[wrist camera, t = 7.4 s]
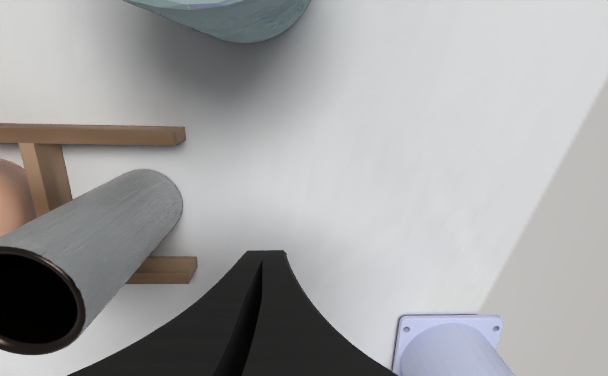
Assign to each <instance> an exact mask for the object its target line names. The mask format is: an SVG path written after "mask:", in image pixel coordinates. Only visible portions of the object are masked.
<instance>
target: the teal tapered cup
mask: <svg viewBox="0 0 608 376" xmlns="http://www.w3.org/2000/svg"><path fill="white" fill-rule="evenodd" d="M123 1H126V2H128V3H131V4H133V5H136V6H138V7H141V8H144V9H147V10H149V11H152V12H154V13H157V14H159V15H161V16H163V17H165V18H167V19H170V20H172V21H174V22H177V23H180V24H182V25H184V26H188V27H191V28H193V29H195V30H197V31H200V32H203V33H207V34H209V35H211V36H213V37H216V38H218V39H221V40H224V41H229V42H233V43H256V42H261V41H265V40H268V39H270V38H273V37H275V36H277V35H279V34H281V33H282V32H284V31H285V30H286V29H288V28H289V27H290V26H291V25H292V24H293V23H294V22H295V21H296V20H297V19H298V18H299V17H300V16H301V15H302V13H303V12H304V11H305V9H306V7H307V6H308V4H309V2H310V1H311V0H123Z"/></svg>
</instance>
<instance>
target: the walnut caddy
mask: <svg viewBox="0 0 608 376" xmlns="http://www.w3.org/2000/svg"><path fill="white" fill-rule="evenodd" d="M184 140H186V138H185V127H166V126H115V125H63V124H12V123H0V143H18V144H19V148H20V152H21V156H22V160H23V164H24V168H25V171H26V175H27V179H28V183H29V187H30V191H31V195H32V199H33V203H34V207H35V211H36V215H37V218H38V217H40V216H42V215H44V214H46V213H48V212H50V211H52V210H54V209H56V208H58V207H60V206H62V205H64V204H66V203H68V202H70V201H71V200H72V196H71V191H70V187H69V182H68V177H67V173H66V168H65V163H64V159H63V154H62V149H61V145H60V144H105V145H165V146H175V145H177V144H178V143H180V142H182V141H184ZM196 268H197V259H196V257H147V258H146V260H145V261H144V262H143V263H142V264H141V265H140V266H139V268H138V269H137V270H136V271H135V272H134V273H133V275H132V276H131V277H130V278H129V279H128V280H127V282H126V283H125V284H189V282H190V280H191V278H192V276H193V274H194V272H195V270H196Z"/></svg>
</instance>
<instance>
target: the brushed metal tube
mask: <svg viewBox="0 0 608 376" xmlns="http://www.w3.org/2000/svg"><path fill="white" fill-rule="evenodd" d="M181 213H182V198H181V195H180V193H179V191H178V189H177V187H176V186H175V185H174V183H173V182H172V181H171V180H170V179H168V178H167V177H166V176H164V175H162V174H161V173H158V172H156V171H152V170H147V169H138V170H133V171H130V172H127V173H125V174H123V175H121V176H119V177H117V178H115V179H113V180H111V181H109V182H107V183H105V184H103V185H101V186H99V187H97V188H95V189H93V190H91V191H89V192H87V193H85V194H83V195H81V196H79V197H77V198H75V199H73V200H71V201H70V202H68V203H66V204H64V205H62V206H60V207H58V208H56V209H54V210H52V211H50V212H48V213H46V214H44V215H42V216H40V217H38V218H36V219H34V220H32V221H30V222H28V223H26V224H24V225H22V226H20V227H18V228H16V229H14V230H12V231H11V232H9V233H7V234H5V235H3V236H1V237H0V349H1V350H4V351H7V352H11V353H16V354H22V355H42V354H48V353H52V352H56V351H58V350H61V349H63V348H65V347H67V346H69V345H70V344H71V343H73V342H74V341H75V340H76V339H77V338H78V337H79V336H80V335H81V334H82V333H83V331H84V330H85V329H86V328H87V327H88V326H89V325H90V323H91V322H92V321H93V320H94V319H95V318H96V316H97V315H98V314H99V313H100V312H101V311H102V309H103V308H104V307H105V306H106V305H107V304H108V302H109V301H110V300H111V299H112V298H113V297H114V296H115V294H116V293H117V292H118V291H119V290H120V289H121V287H122V286H123V285H124V284H125V283H126V282H127V280H128V279H129V278H130V277H131V276H132V275H133V273H134V272H135V271H136V270H137V269H138V268H139V266H140V265H141V264H142V263H143V262H144V261H145V260H146V258H147V257H148V256H149V255H150V254H151V253H152V251H153V250H154V249H155V248H156V247H157V246H158V244H159V243H160V242H161V241H162V240H163V239H164V237H165V236H166V235H167V234H168V233H169V232H170V230H171V229H172V228H173V227H174V226H175V224H176V223H177V221H178V220H179V218H180V216H181Z"/></svg>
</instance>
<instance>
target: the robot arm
mask: <svg viewBox="0 0 608 376" xmlns="http://www.w3.org/2000/svg"><path fill="white" fill-rule="evenodd" d="M502 326H503V319H502V318H501V317H500V316H498V315H427V316H403V317H402V318H401V319H400V321H399V328H398V335H397V342H396V349H395V356H394V363H393V370H392V371H390V370H389V369H387V368H386V367H384V366H382V365H381V364H379V363H378V362H376V361H374V360H373V359H371V358H370V357H368V356H367V355H366V354H364V353H363V352H362V351H360V350H359V349H358V348H356V347H355V346H354V345H352V344H351V343H350V342H349V341H348V340H347V339H346V338H344V337H343V336H342V335H341V334H340V333H339V332H338V331H337V330H336V329H334V328H333V327H332V325H331V324H330V323H329V322H328V321H327V320H326V319H325V318H324V317H323V316H322V315H321V313H320V312H319V311H318V310H317V309H316V307H315V306H314V305H313V304H312V302H311V301H310V300H309V298H308V297H307V295H306V294H305V292H304V291H303V289H302V288H301V286H300V284H299V283H298V281H297V279H296V277H295V275H294V274H293V271H292V269H291V267H290V265H289V262H288V259H287V253H286V252H284V251H283V250H269V251H247V252H246V253H245V254H244V255H243V256H242V257H241V258H240V259H239V260H238V262H237V263H236V264H235V265H234V266H233V267H232V268H231V269H230V270H229V271H228V272H227V273H226V274H225V276H224V277H223V278H222V279H221V280H220V281H219V282H218V283H217V284H216V285H215V286H214V287H212V288H211V289H210V290H209V291H208V292H207V293H206V294H205V295H204V296H203V297H201V298H200V299H199V300H198V301H197V302H195V303H194V304H193V305H192V306H190V307H189V308H188V309H186V310H185V311H184V312H182V313H181V314H180V315H178V316H177V317H175V318H174V319H172V320H171V321H169V322H168V323H166V324H165V325H163V326H161V327H160V328H158V329H157V330H155V331H154V332H152V333H150V334H149V335H147V336H146V337H144V338H142V339H140V340H139V341H137V342H135V343H133V344H131V345H130V346H128V347H126V348H124V349H122V350H120V351H118V352H116V353H114V354H113V355H111V356H109V357H107V358H105V359H103V360H101V361H98V362H96V363H94V364H92V365H90V366H88V367H85V368H83V369H81V370H79V371H76V372H74V373H72V374H70V375H67V376H515V375H514V373H513V372H512V371H511V370H510V368H509V367H508V366H507V364H506V363H505V362H504V361H503V359H502V358H501V357H500V355H499V354H498V353H497V351H496V348H497V345H498V341H499V337H500V334H501V330H502ZM405 327H407V328H406V329H404V328H405ZM493 327H494V328H493Z"/></svg>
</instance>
